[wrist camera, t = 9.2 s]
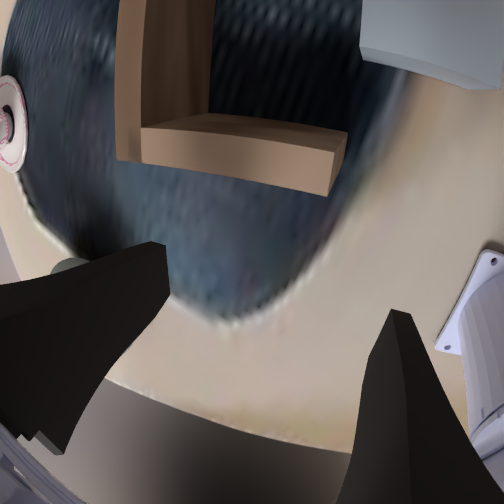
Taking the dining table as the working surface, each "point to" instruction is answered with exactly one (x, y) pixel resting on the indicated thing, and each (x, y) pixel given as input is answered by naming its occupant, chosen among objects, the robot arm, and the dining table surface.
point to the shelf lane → (203, 106)
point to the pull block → (437, 39)
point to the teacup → (12, 153)
